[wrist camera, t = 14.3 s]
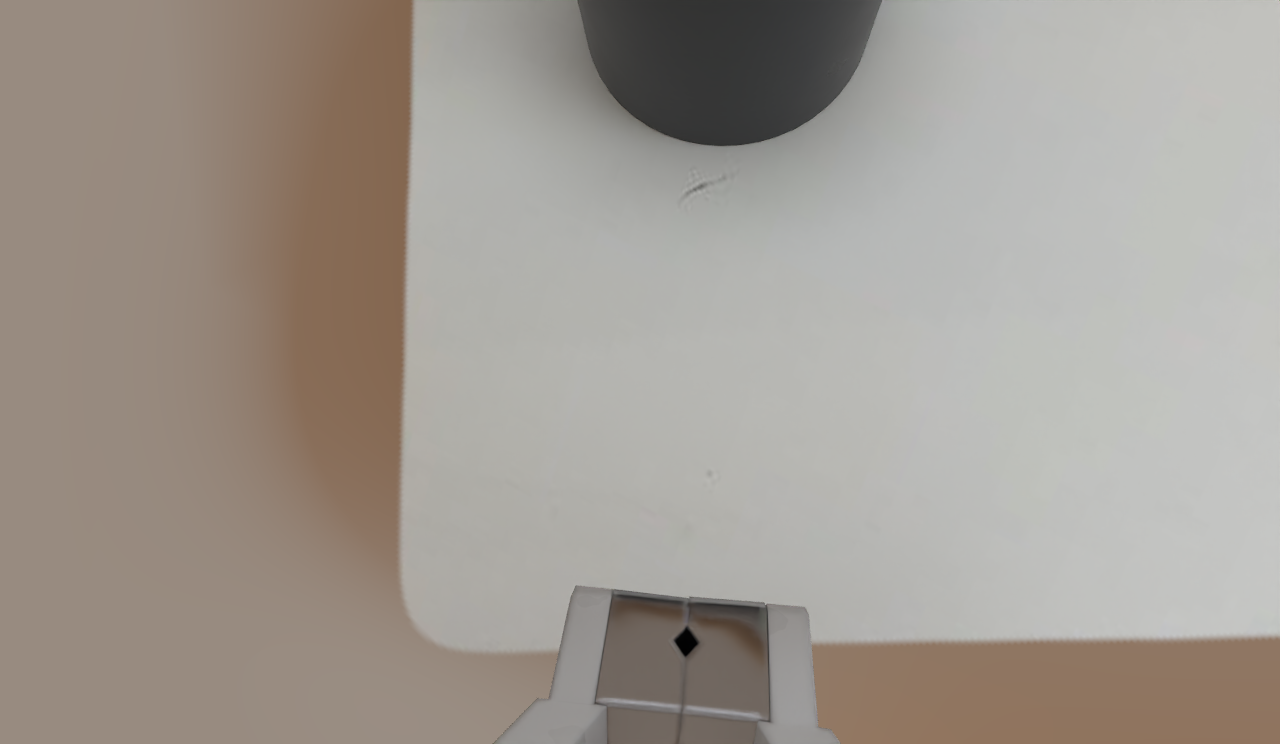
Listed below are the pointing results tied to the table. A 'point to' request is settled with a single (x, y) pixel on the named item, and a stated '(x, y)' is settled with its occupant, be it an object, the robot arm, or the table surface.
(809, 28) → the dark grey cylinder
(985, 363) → the table surface
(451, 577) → the table surface
